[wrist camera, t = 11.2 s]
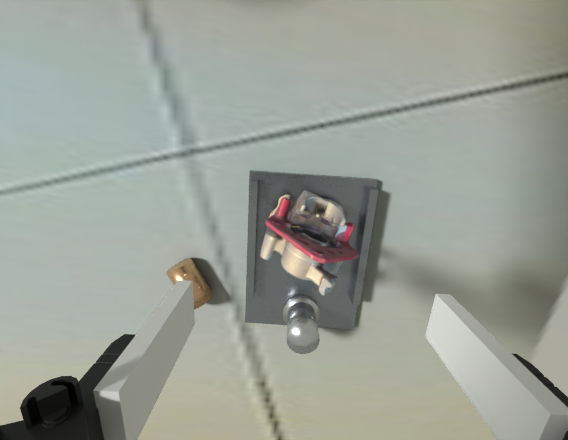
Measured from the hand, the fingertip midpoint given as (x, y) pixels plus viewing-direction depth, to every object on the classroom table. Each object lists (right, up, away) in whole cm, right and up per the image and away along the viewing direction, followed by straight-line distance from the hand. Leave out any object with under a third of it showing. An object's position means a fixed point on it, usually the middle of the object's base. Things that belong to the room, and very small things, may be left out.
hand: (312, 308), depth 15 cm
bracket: (+1, 0, +23) cm, 23 cm away
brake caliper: (+2, +4, +21) cm, 21 cm away
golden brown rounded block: (-15, -4, +24) cm, 29 cm away
